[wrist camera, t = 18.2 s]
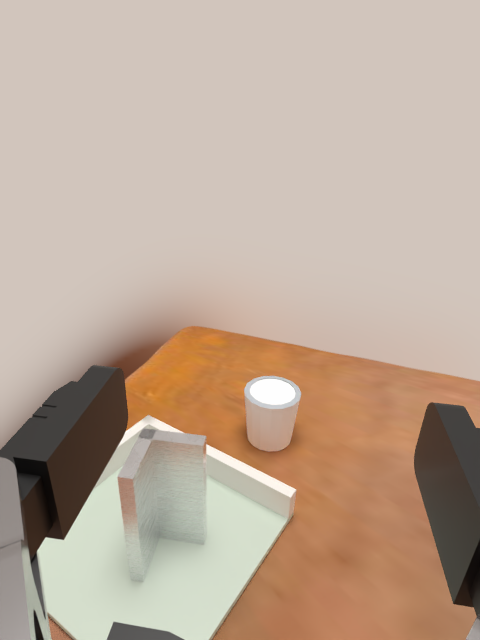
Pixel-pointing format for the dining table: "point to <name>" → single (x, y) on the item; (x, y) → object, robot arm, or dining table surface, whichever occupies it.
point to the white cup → (271, 412)
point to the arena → (164, 554)
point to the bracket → (162, 494)
